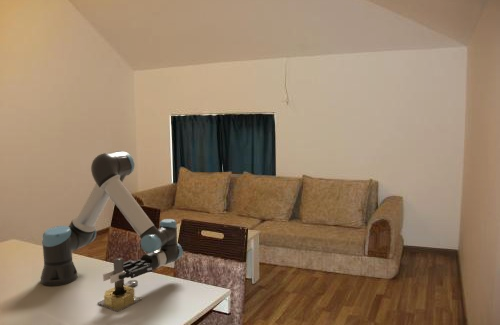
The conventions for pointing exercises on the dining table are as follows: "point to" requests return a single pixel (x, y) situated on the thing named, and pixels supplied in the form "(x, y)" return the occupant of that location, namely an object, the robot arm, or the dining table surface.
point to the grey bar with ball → (131, 283)
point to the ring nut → (119, 299)
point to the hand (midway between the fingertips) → (107, 278)
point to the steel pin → (120, 284)
